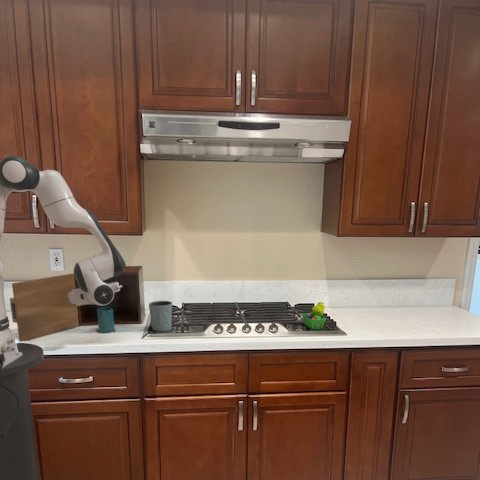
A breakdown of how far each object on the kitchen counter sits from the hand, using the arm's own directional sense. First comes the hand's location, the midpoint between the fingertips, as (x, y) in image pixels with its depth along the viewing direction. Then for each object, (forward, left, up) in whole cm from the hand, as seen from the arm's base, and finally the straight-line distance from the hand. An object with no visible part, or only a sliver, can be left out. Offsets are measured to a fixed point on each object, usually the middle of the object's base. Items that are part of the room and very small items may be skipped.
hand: (91, 291), depth 191 cm
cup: (+9, -3, -20) cm, 22 cm away
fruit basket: (+6, -96, -20) cm, 98 cm away
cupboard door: (+9, +22, -20) cm, 31 cm away
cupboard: (+28, -3, -20) cm, 34 cm away
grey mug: (+9, -27, -20) cm, 35 cm away
